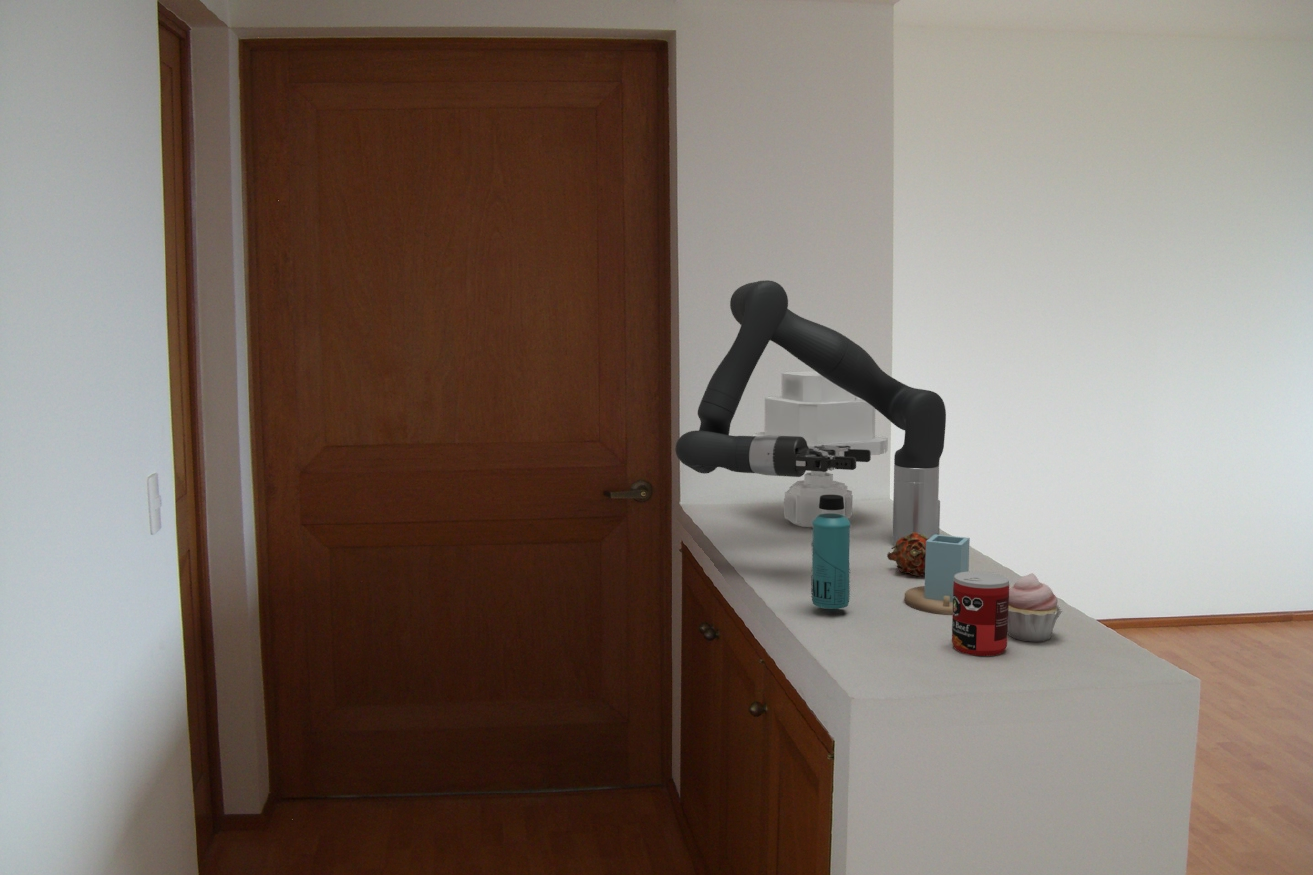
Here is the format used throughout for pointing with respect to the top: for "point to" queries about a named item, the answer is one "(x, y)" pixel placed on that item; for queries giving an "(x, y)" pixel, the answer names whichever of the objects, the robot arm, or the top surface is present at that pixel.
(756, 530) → the top surface
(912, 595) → the post plate
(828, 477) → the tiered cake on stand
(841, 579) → the beverage bottle
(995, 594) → the canned food
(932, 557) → the blue pencil cup
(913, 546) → the dragon fruit
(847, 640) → the top surface
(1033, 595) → the cupcake
